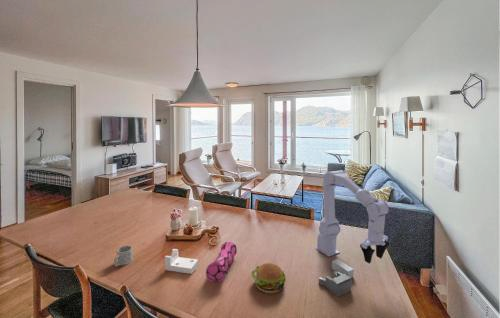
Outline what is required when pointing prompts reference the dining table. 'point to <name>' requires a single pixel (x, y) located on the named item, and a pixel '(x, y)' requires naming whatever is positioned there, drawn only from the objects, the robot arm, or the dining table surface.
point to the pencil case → (221, 262)
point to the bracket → (180, 263)
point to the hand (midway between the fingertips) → (373, 259)
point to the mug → (124, 256)
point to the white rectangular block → (342, 268)
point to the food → (269, 278)
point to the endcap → (337, 283)
